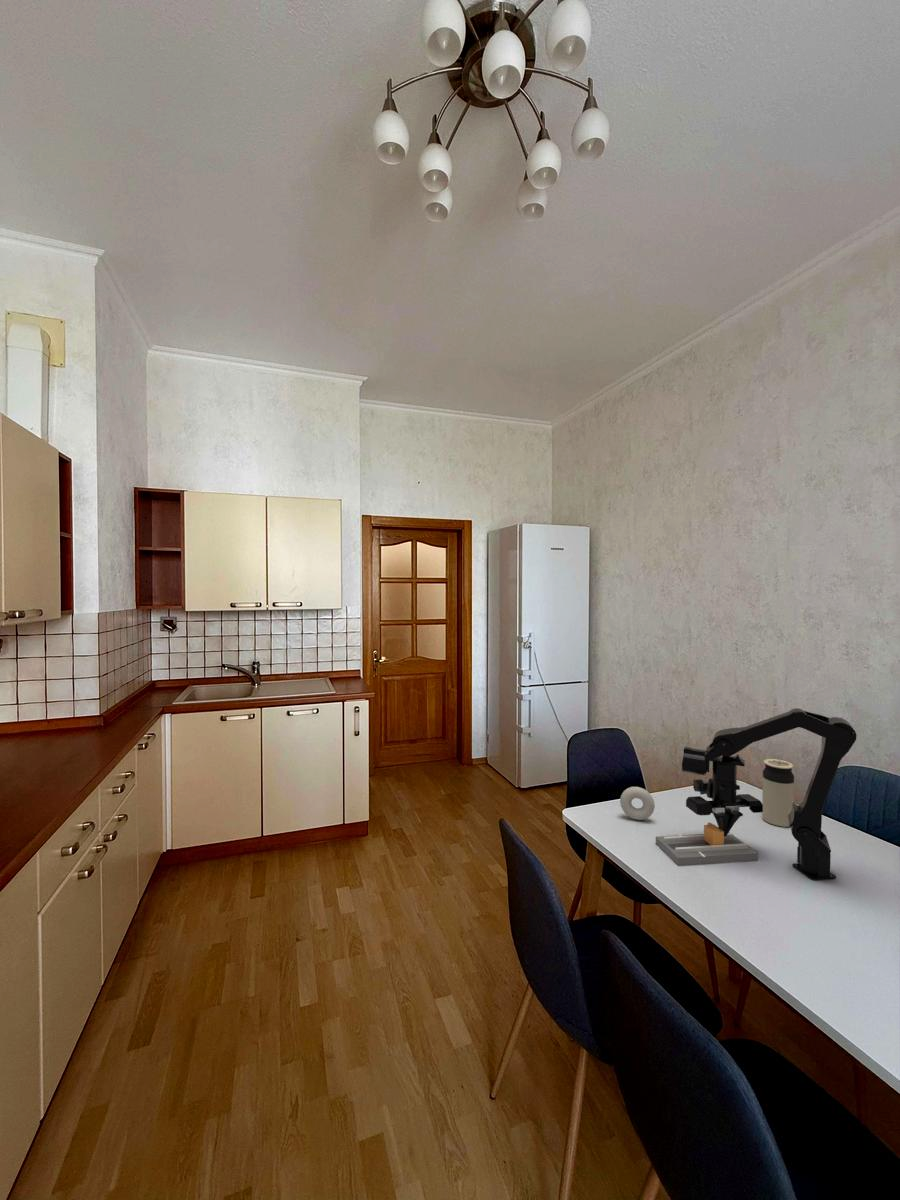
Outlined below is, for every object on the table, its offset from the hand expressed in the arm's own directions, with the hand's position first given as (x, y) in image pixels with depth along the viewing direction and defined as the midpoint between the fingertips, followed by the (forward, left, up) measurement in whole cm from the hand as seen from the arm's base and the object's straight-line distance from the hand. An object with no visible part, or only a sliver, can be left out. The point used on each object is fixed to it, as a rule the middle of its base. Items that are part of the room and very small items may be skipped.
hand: (723, 835), depth 133 cm
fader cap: (0, +3, -2) cm, 3 cm away
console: (0, +5, -4) cm, 7 cm away
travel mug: (+14, -28, -4) cm, 31 cm away
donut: (+20, +14, -4) cm, 25 cm away
